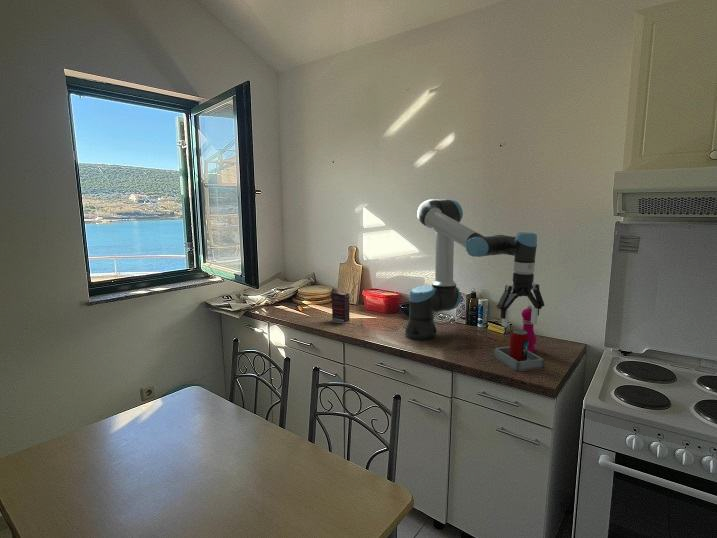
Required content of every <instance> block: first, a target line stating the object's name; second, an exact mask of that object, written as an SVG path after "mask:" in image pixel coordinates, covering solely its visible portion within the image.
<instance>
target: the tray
mask: <svg viewBox="0 0 717 538" xmlns="http://www.w3.org/2000/svg"><path fill="white" fill-rule="evenodd" d="M492 351H493V353H492V357H494V359H495V358H496V359H497V360H498V361H500V362H502V363H503V364H505V365H506V366H508V367H510V368H511V369H512V370H514V371H516V372H524V371H530V370H540V369H544V368H545V361H546V359H545V358H542V357H541V356H539V355H537V354H535V353H533V352H530V351H528V355H527V360H526V361H517V360H515V359H514V358H512V357H510V356H509V353H510V345H509V346H502V347H493V349H492Z"/></svg>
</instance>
